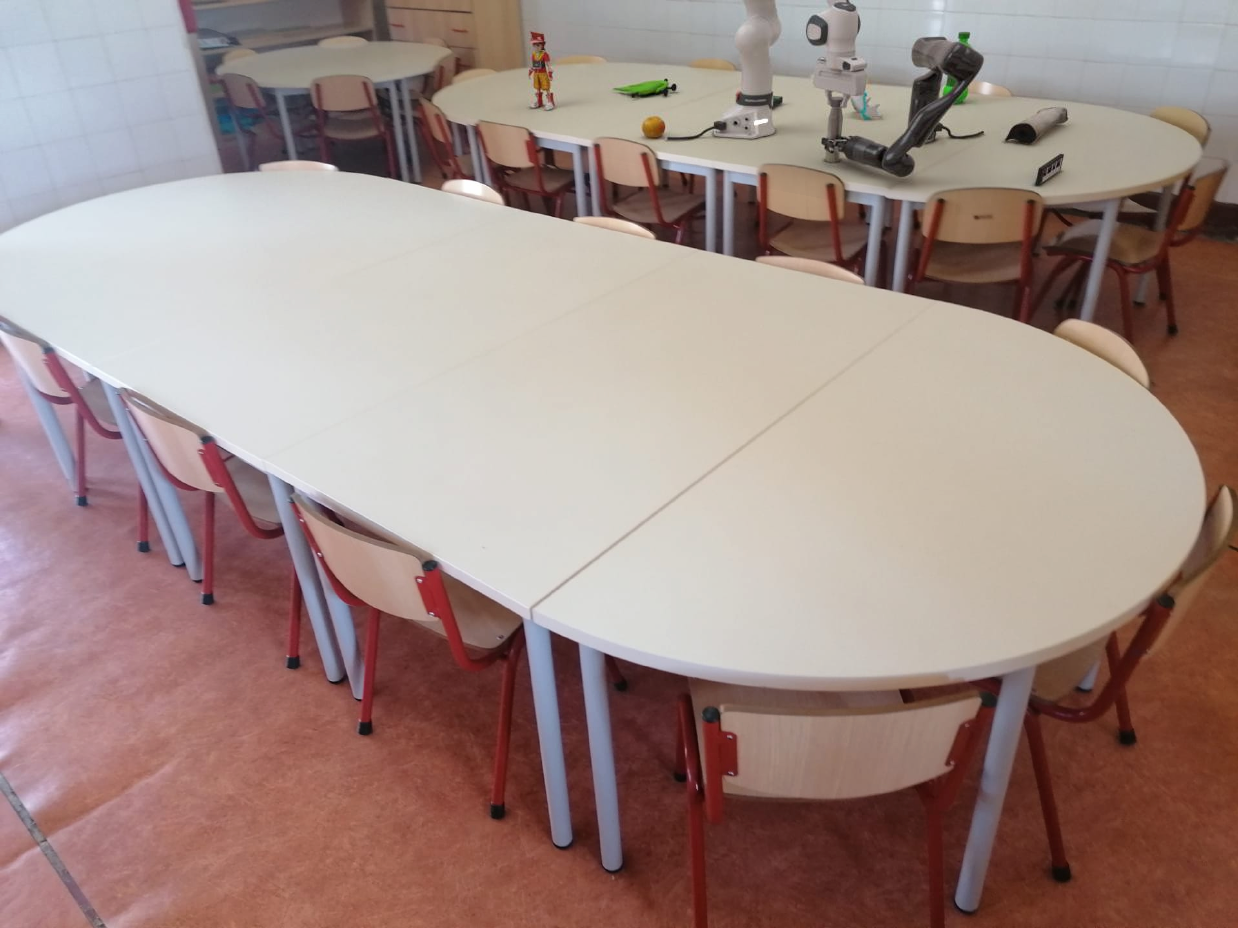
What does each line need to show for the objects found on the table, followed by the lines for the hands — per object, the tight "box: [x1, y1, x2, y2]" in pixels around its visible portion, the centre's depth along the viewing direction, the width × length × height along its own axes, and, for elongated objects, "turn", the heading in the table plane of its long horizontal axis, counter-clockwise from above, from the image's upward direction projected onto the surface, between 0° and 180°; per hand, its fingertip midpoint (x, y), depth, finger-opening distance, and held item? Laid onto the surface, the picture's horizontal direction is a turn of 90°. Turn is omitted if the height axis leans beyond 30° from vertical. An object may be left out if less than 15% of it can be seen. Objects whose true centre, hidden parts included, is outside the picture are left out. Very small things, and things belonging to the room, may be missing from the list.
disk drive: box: [772, 95, 784, 109], centre depth 364 cm, size 10×3×15 cm
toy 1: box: [527, 31, 556, 111], centre depth 374 cm, size 12×9×30 cm
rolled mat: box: [1004, 106, 1069, 145], centre depth 312 cm, size 30×9×10 cm
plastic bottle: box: [942, 31, 974, 104], centre depth 348 cm, size 10×10×25 cm
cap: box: [829, 95, 844, 108], centre depth 290 cm, size 4×4×2 cm
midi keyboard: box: [1035, 153, 1065, 186], centre depth 273 cm, size 18×1×5 cm, turn 138°
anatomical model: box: [849, 91, 885, 120], centre depth 343 cm, size 15×10×10 cm
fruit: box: [641, 115, 666, 138], centre depth 334 cm, size 8×8×8 cm
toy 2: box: [612, 78, 677, 99], centre depth 396 cm, size 28×5×30 cm
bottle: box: [824, 107, 844, 163], centre depth 296 cm, size 5×5×19 cm
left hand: (836, 106), depth 291 cm, fingers closed on cap, 4 cm apart
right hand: (828, 139), depth 299 cm, fingers closed on bottle, 4 cm apart
